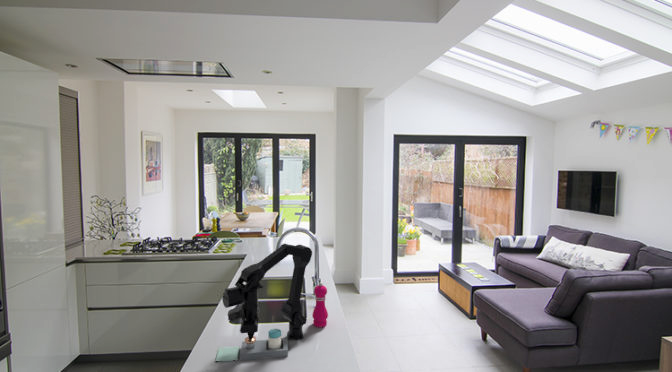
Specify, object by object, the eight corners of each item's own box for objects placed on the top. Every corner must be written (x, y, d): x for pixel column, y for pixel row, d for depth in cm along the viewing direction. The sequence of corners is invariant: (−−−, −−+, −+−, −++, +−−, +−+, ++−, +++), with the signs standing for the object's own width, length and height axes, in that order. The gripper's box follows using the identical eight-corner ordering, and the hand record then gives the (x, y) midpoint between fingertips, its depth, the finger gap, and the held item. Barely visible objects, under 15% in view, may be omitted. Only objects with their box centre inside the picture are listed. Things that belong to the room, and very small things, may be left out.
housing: (242, 347, 143) (242, 341, 143) (286, 344, 146) (286, 338, 146) (240, 360, 134) (240, 353, 134) (287, 356, 137) (287, 350, 137)
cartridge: (268, 348, 143) (268, 329, 142) (280, 347, 144) (281, 328, 143) (268, 355, 138) (268, 335, 137) (281, 354, 139) (281, 334, 138)
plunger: (245, 350, 141) (244, 336, 140) (256, 349, 142) (256, 335, 141) (244, 356, 136) (244, 342, 136) (255, 355, 137) (255, 341, 137)
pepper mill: (310, 322, 166) (310, 280, 164) (324, 319, 169) (325, 279, 167) (315, 329, 159) (316, 286, 158) (330, 326, 162) (331, 284, 161)
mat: (219, 349, 141) (219, 348, 141) (239, 347, 143) (239, 346, 143) (215, 362, 132) (215, 360, 132) (237, 360, 134) (237, 359, 134)
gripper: (231, 292, 145) (231, 329, 146) (225, 312, 127) (226, 353, 128) (259, 291, 147) (259, 327, 148) (257, 310, 129) (257, 351, 130)
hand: (250, 339), depth 139 cm, fingers closed, pressing on plunger
